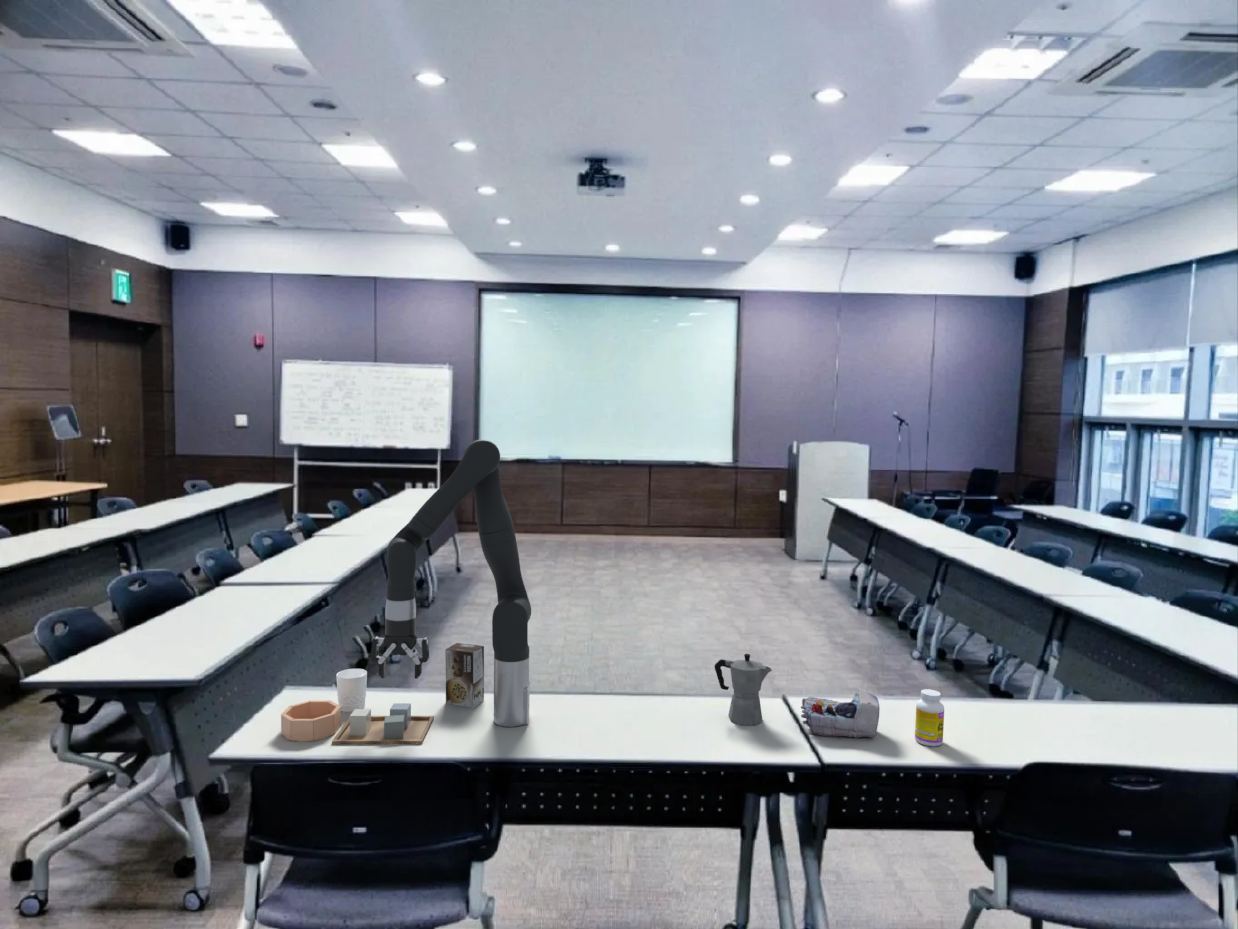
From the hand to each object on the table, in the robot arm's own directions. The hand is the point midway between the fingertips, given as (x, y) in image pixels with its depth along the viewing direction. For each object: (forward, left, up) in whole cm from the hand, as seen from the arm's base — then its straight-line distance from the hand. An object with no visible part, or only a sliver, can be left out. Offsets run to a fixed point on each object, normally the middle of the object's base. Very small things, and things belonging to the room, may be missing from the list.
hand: (400, 677), depth 197 cm
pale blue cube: (0, 0, -13) cm, 13 cm away
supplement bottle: (-135, +10, -13) cm, 136 cm away
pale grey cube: (+9, +4, -13) cm, 16 cm away
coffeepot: (-90, -5, -13) cm, 91 cm away
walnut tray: (+3, +4, -13) cm, 14 cm away
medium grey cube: (0, +7, -13) cm, 14 cm away
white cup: (+16, -12, -13) cm, 24 cm away
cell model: (-114, +3, -14) cm, 115 cm away
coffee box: (-14, -16, -13) cm, 25 cm away
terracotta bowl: (+21, +3, -13) cm, 25 cm away
